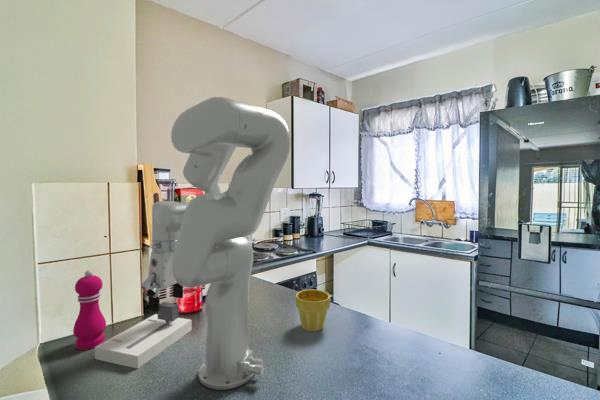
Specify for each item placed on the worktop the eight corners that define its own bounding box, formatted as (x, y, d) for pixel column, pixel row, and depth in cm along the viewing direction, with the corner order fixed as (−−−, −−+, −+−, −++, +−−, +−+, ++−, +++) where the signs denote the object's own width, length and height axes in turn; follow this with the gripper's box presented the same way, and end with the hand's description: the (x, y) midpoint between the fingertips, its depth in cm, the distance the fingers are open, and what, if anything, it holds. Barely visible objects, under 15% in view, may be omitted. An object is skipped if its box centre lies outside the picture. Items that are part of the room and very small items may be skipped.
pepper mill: (90, 352, 77) (88, 275, 76) (66, 349, 79) (64, 273, 78) (112, 338, 84) (111, 267, 83) (90, 335, 86) (89, 265, 85)
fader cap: (178, 321, 88) (178, 304, 88) (172, 324, 85) (172, 307, 85) (163, 318, 89) (163, 302, 89) (157, 322, 87) (157, 305, 87)
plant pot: (324, 337, 86) (325, 303, 86) (290, 331, 90) (291, 298, 89) (333, 321, 96) (333, 291, 96) (301, 317, 99) (302, 287, 99)
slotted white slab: (191, 329, 90) (191, 319, 90) (138, 368, 71) (137, 355, 71) (155, 323, 94) (155, 313, 93) (95, 359, 74) (94, 346, 74)
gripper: (155, 253, 77) (155, 318, 78) (196, 240, 94) (196, 294, 95) (131, 250, 79) (131, 314, 80) (176, 238, 96) (175, 291, 97)
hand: (166, 303), depth 88 cm, fingers open, 9 cm apart
